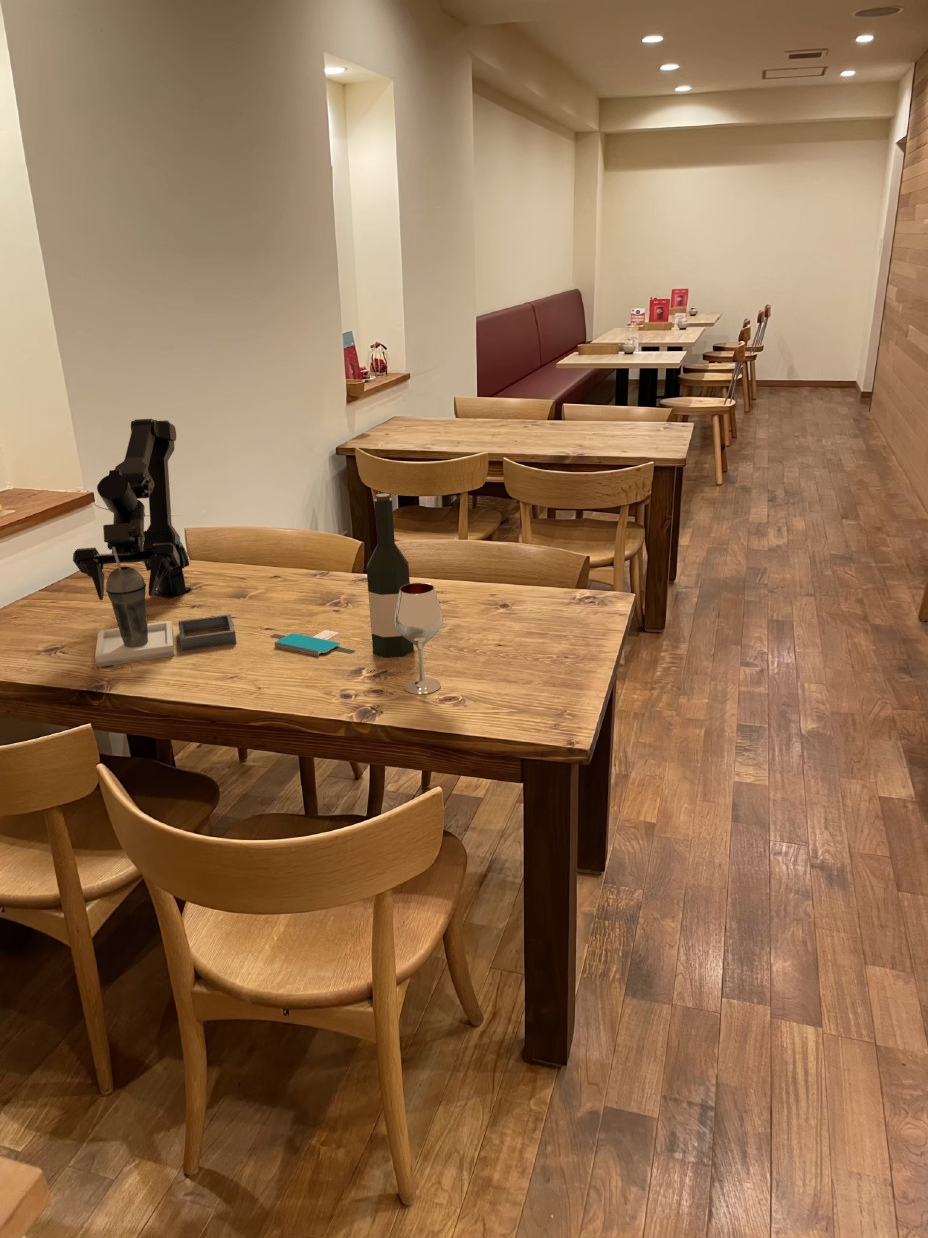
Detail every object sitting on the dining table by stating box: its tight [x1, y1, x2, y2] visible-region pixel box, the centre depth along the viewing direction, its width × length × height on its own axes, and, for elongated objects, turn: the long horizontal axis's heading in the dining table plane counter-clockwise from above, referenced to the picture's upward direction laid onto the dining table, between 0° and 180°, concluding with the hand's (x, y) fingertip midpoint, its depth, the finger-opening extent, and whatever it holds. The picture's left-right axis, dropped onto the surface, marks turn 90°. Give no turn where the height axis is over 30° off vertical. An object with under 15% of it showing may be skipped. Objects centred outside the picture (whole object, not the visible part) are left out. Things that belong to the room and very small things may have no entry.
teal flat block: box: [269, 629, 356, 657], centre depth 176 cm, size 20×12×2 cm, turn 60°
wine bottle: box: [366, 493, 415, 659], centre depth 166 cm, size 8×8×30 cm
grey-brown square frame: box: [178, 613, 237, 652], centre depth 180 cm, size 10×10×2 cm
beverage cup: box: [106, 547, 148, 647], centre depth 172 cm, size 7×7×20 cm
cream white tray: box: [94, 620, 175, 668], centre depth 176 cm, size 14×14×2 cm
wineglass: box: [394, 582, 444, 695], centre depth 152 cm, size 8×8×18 cm
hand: (125, 597), depth 171 cm, fingers open, 9 cm apart
